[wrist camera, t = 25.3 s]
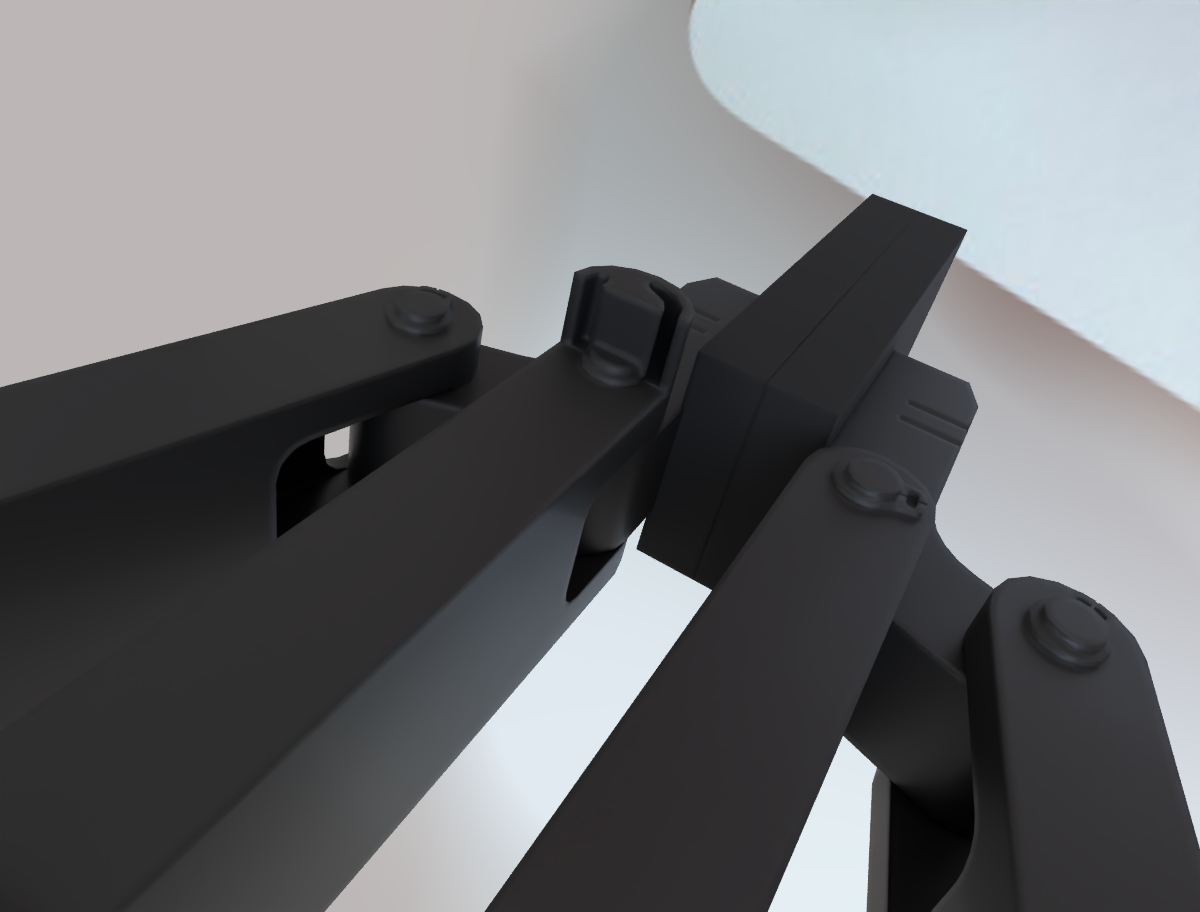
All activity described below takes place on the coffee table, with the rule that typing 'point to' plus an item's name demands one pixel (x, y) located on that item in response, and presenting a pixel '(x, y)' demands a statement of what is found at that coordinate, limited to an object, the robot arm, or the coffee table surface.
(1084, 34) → the coffee table surface
